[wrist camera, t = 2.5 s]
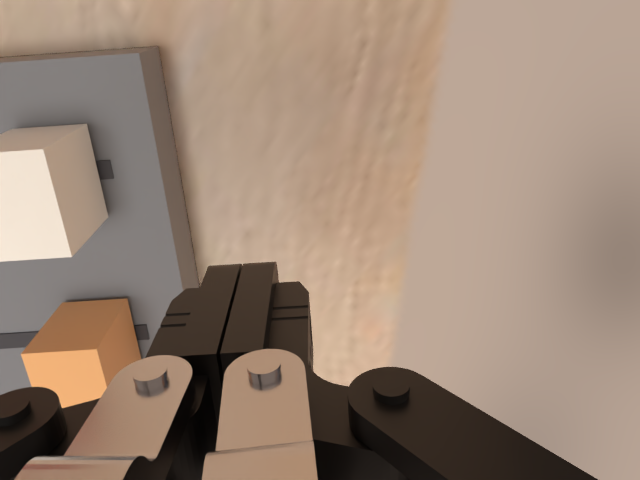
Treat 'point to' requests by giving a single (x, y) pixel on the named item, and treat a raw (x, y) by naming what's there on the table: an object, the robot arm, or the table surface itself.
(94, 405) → the robot arm
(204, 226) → the table surface
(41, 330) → the fader
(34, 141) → the fader
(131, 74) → the console
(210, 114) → the table surface
